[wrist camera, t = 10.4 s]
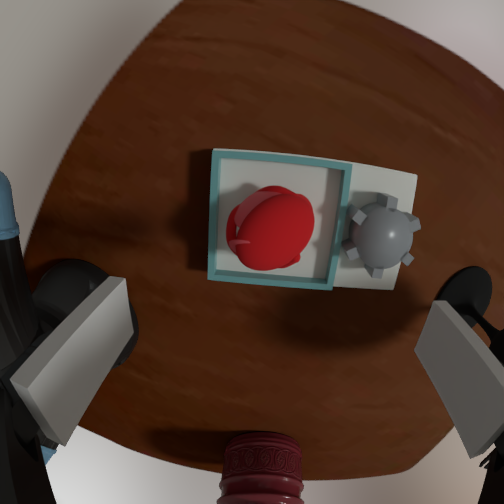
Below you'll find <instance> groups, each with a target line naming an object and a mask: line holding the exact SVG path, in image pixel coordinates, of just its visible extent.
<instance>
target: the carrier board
mask: <svg viewBox="0 0 504 504" xmlns="http://www.w3.org/2000/svg"><path fill="white" fill-rule="evenodd" d="M416 182H417V175H415V174H411V173H406V172H401V171H397V170H392V169H387V168H382V167H376V166H371V165H365V164H360V163H354V162H348V161H341V160H334V159H327V158H320V157H312V156H304V155H295V154H286V153H276V152H264V151H251V150H235V149H213V150H212V166H211V185H210V209H209V240H208V280H216V281H226V282H236V283H247V284H258V285H269V286H281V287H293V288H306V289H319V290H332V289H333V286H336V287H350V288H366V289H383V290H393V289H394V285H395V282H396V278H397V274H398V271H399V267H400V263H401V261H402V262H403V263H404V264H406V265H407V266H408V265H409V264H410V263H411V261H412V260H413V259H414V257H413V256H412V255H410V254H409V253H408V252H409V250H410V248H411V245H412V240H413V232H415V231H417V230H419V229H421V226H420V222H419V218H417V217H415V216H413V215H412V214H411V213H412V207H413V202H414V195H415V189H416ZM272 185H276V186H282V187H285V188H287V189H289V190H291V191H292V192H294V193H296V194H302V195H304V196H305V197H306V198H307V199H308V200H309V201H310V203H311V205H312V208H313V213H314V219H315V223H314V230H313V233H312V236H311V238H310V241H309V242H308V244H307V246H306V247H305V248H304V250H303V251H302V252H301V253H300V256H301V258H300V261H299V262H297V263H295V264H293V265H291V266H289V267H286V268H277V269H273V270H268V271H257V270H253V269H250V268H248V267H246V266H245V265H243V264H242V263H241V262H240V260H239V258H238V256H236V255H235V254H234V253H233V252H232V251H231V249H230V248H229V246H228V244H227V241H226V225H227V221H228V217H229V215H230V213H231V211H232V210H233V209H234V208H235V207H236V206H237V205H239V204H241V203H242V202H243V201H244V200H245V199H246V198H247V197H248V196H250V195H251V194H253V193H255V192H256V191H258V190H259V189H261V188H264V187H267V186H272ZM238 230H239V227H238V226H237V230H236V236H237V233H238Z"/></svg>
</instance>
